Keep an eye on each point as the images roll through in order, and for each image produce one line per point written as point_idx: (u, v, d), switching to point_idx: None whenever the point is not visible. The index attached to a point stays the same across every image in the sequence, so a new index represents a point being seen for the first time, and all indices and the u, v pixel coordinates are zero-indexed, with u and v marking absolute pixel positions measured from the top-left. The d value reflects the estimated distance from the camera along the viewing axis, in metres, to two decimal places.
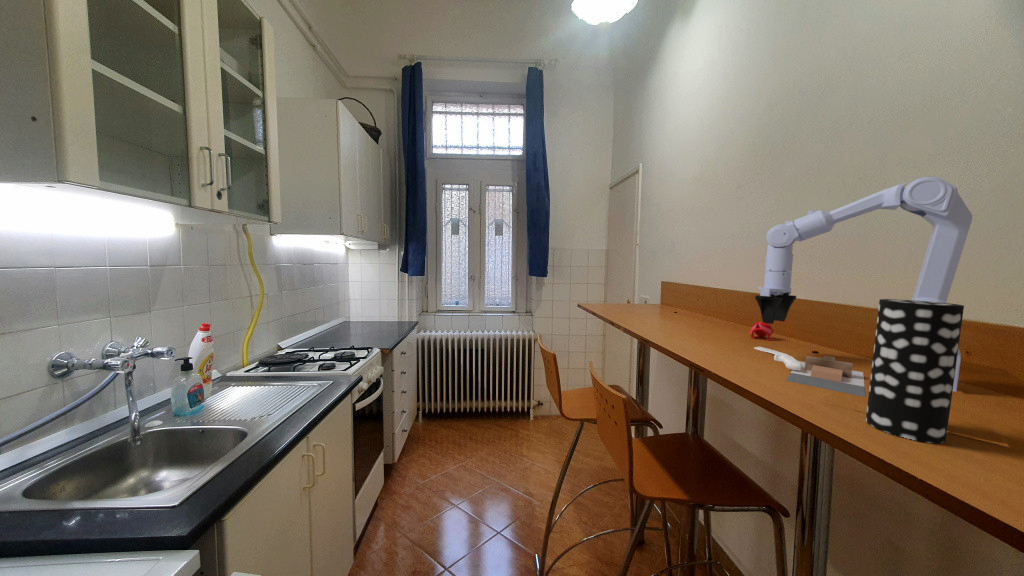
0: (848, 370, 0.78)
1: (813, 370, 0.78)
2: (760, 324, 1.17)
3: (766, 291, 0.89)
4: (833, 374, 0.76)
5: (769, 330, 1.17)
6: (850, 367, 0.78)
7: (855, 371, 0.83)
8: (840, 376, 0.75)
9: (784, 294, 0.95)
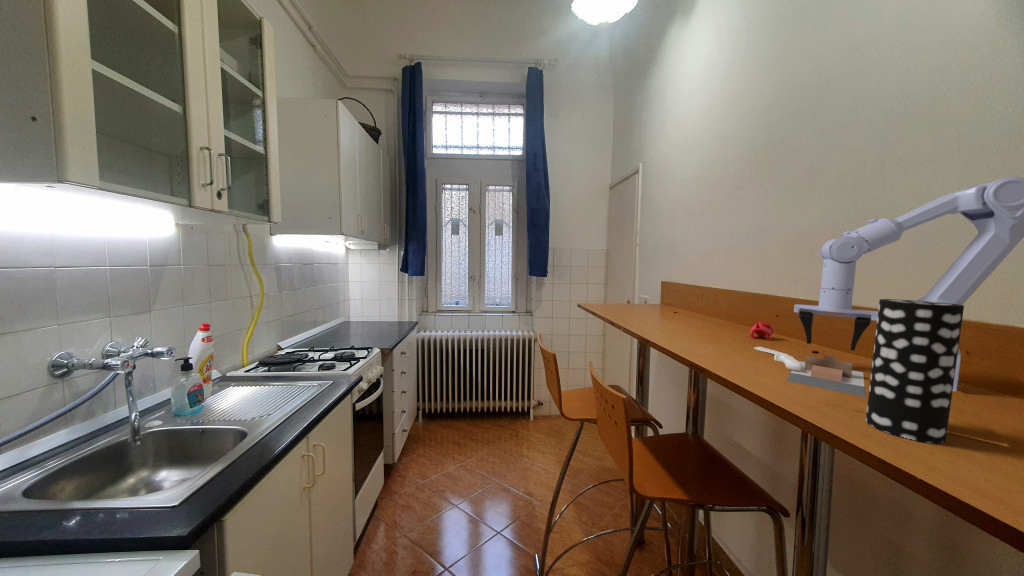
0: (848, 370, 0.78)
1: (813, 370, 0.78)
2: (760, 324, 1.17)
3: None
4: (833, 374, 0.76)
5: (769, 330, 1.17)
6: (850, 367, 0.78)
7: (855, 371, 0.83)
8: (840, 376, 0.75)
9: (856, 318, 0.79)
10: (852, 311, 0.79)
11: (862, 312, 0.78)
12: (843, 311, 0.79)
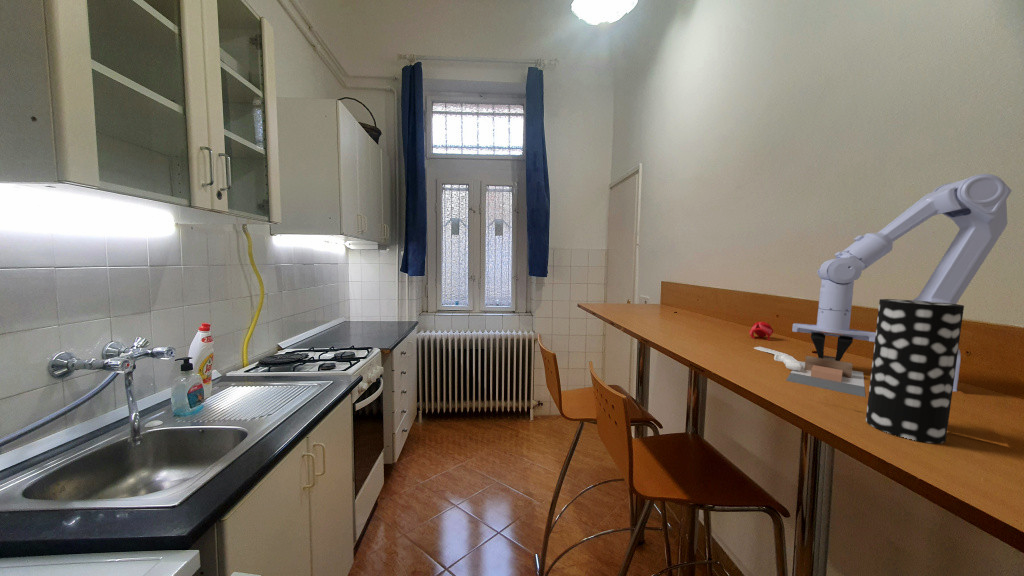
0: (848, 370, 0.78)
1: (813, 370, 0.78)
2: (760, 324, 1.17)
3: None
4: (833, 374, 0.76)
5: (769, 330, 1.17)
6: (850, 367, 0.78)
7: (855, 371, 0.83)
8: (840, 376, 0.75)
9: (854, 338, 0.80)
10: (850, 332, 0.79)
11: (860, 333, 0.78)
12: (841, 332, 0.80)
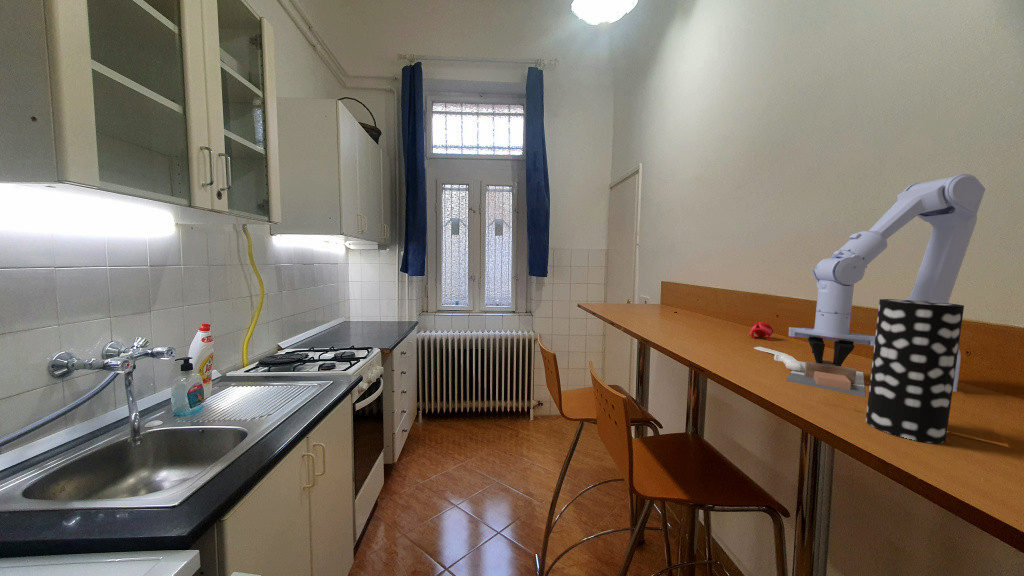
0: (852, 376, 0.74)
1: (820, 378, 0.73)
2: (760, 324, 1.17)
3: (789, 330, 0.81)
4: (841, 381, 0.71)
5: (769, 330, 1.17)
6: (854, 373, 0.73)
7: None
8: (849, 383, 0.70)
9: None
10: (852, 336, 0.74)
11: (862, 337, 0.74)
12: (843, 336, 0.75)
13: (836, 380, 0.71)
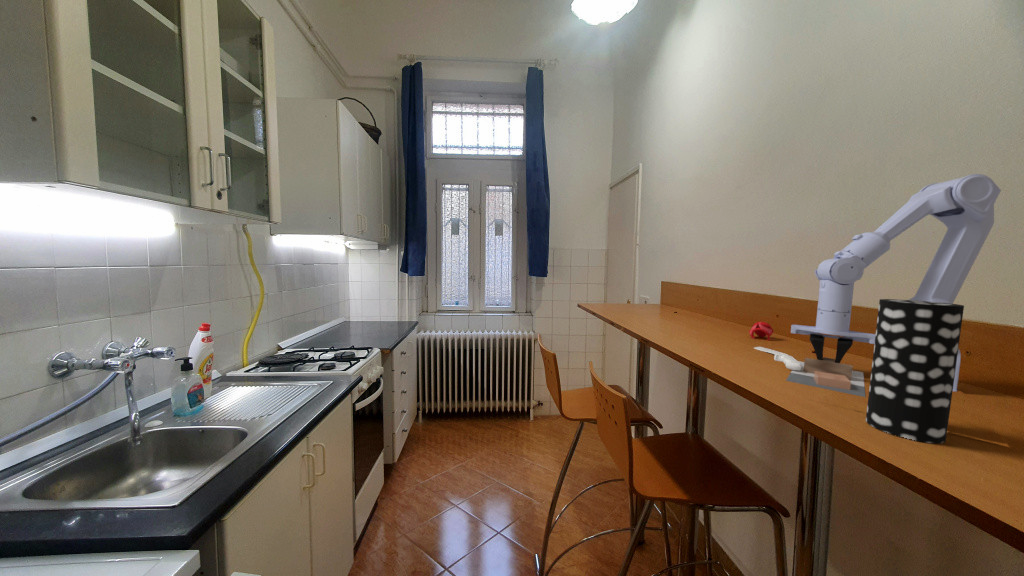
0: (848, 372, 0.76)
1: (820, 378, 0.73)
2: (760, 324, 1.17)
3: (791, 327, 0.85)
4: (841, 381, 0.71)
5: (769, 330, 1.17)
6: (850, 369, 0.76)
7: (855, 371, 0.83)
8: (849, 383, 0.70)
9: (854, 340, 0.78)
10: (850, 334, 0.77)
11: (860, 335, 0.76)
12: (841, 334, 0.78)
13: (836, 380, 0.71)
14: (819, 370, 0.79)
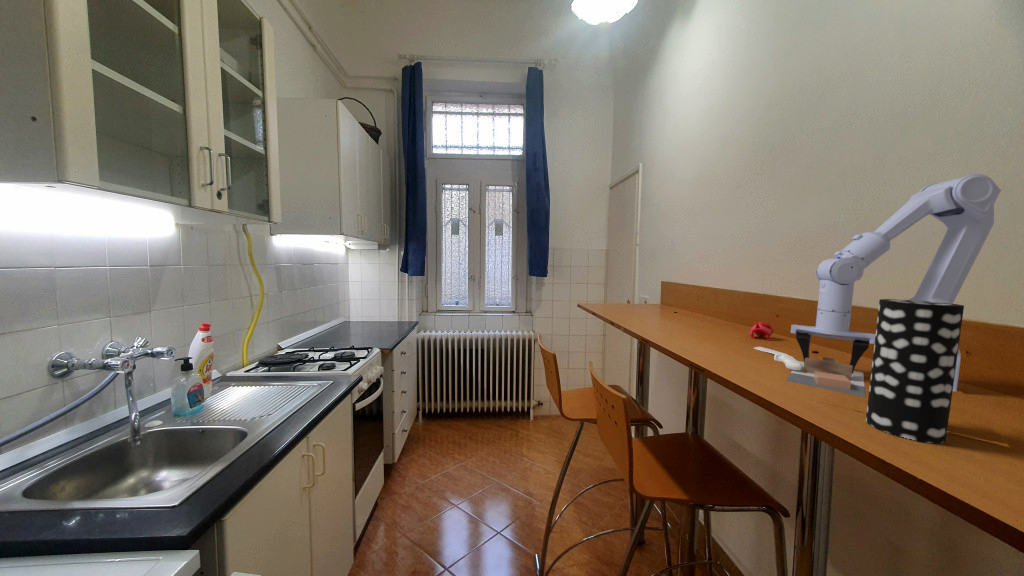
0: (848, 372, 0.76)
1: (820, 378, 0.73)
2: (760, 324, 1.17)
3: (791, 327, 0.85)
4: (841, 381, 0.71)
5: (769, 330, 1.17)
6: (850, 369, 0.76)
7: (855, 371, 0.83)
8: (849, 383, 0.70)
9: (854, 340, 0.78)
10: (850, 334, 0.77)
11: (860, 335, 0.76)
12: (841, 334, 0.78)
13: (836, 380, 0.71)
14: (819, 370, 0.79)
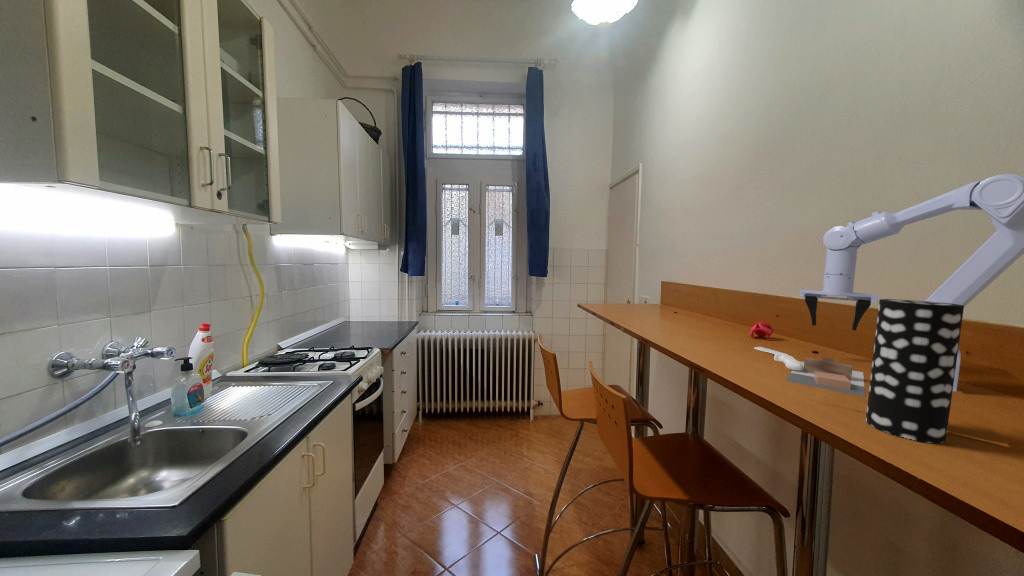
0: (848, 372, 0.76)
1: (820, 378, 0.73)
2: (760, 324, 1.17)
3: (800, 292, 0.94)
4: (841, 381, 0.71)
5: (769, 330, 1.17)
6: (850, 369, 0.76)
7: (855, 371, 0.83)
8: (849, 383, 0.70)
9: (857, 300, 0.87)
10: (854, 294, 0.86)
11: (863, 295, 0.85)
12: (845, 294, 0.87)
13: (836, 380, 0.71)
14: (819, 370, 0.79)
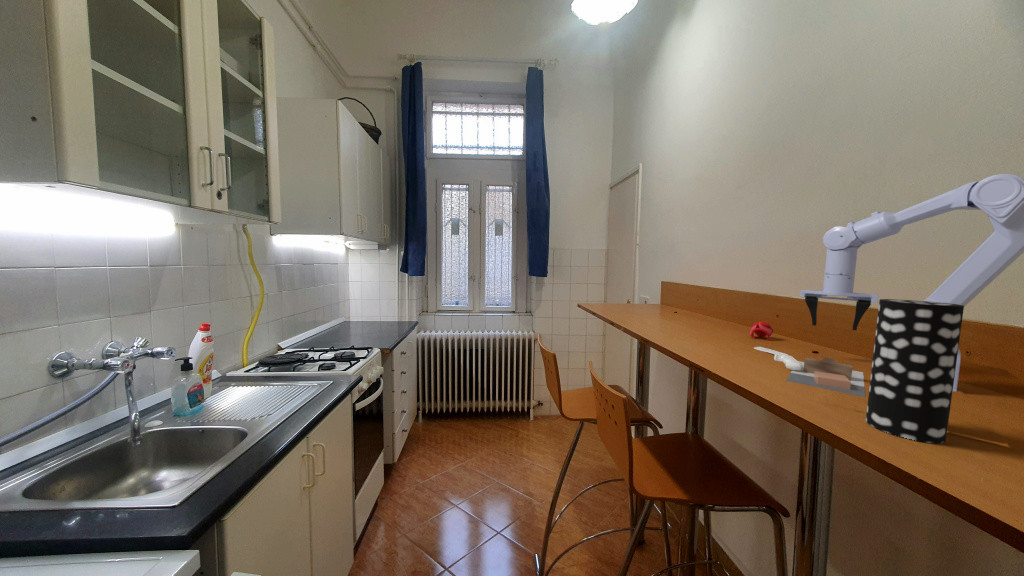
0: (848, 372, 0.76)
1: (820, 378, 0.73)
2: (760, 324, 1.17)
3: None
4: (841, 381, 0.71)
5: (769, 330, 1.17)
6: (850, 369, 0.76)
7: (855, 371, 0.83)
8: (849, 383, 0.70)
9: (858, 300, 0.87)
10: (854, 294, 0.86)
11: (863, 295, 0.86)
12: (845, 294, 0.87)
13: (836, 380, 0.71)
14: (819, 370, 0.79)
